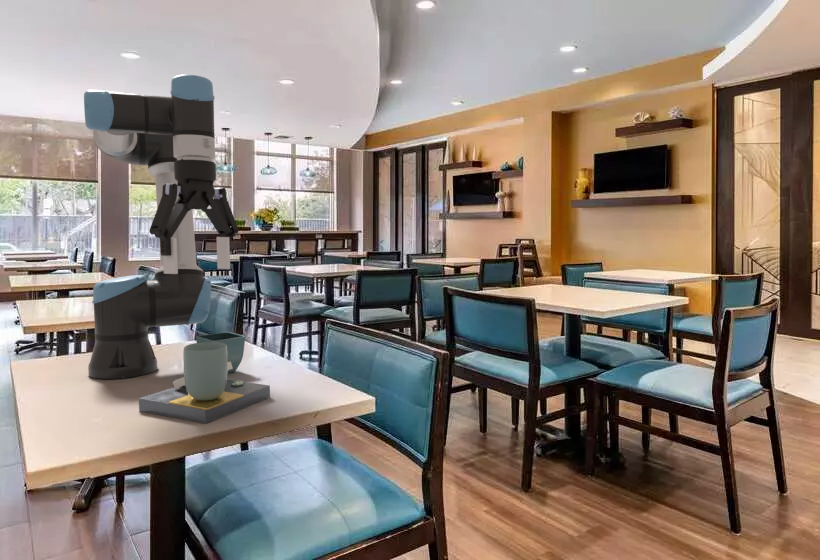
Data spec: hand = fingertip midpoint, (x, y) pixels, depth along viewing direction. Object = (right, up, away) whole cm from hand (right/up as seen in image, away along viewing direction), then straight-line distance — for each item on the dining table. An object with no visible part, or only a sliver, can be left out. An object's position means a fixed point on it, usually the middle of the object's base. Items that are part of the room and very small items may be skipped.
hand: (198, 271), depth 113 cm
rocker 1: (-3, -22, +5) cm, 22 cm away
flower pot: (-5, -24, +29) cm, 38 cm away
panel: (0, -27, +3) cm, 27 cm away
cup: (+2, -24, -2) cm, 25 cm away
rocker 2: (0, -21, +10) cm, 24 cm away
